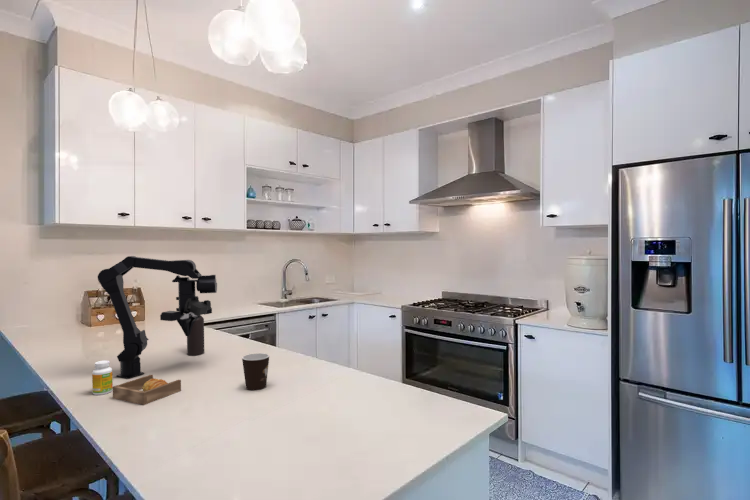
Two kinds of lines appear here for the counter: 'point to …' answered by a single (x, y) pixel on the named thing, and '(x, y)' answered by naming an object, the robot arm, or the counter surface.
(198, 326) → the vinegar
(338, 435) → the counter surface
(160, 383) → the pastry
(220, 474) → the counter surface
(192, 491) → the counter surface
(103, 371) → the supplement bottle
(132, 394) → the box
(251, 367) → the coffee mug
